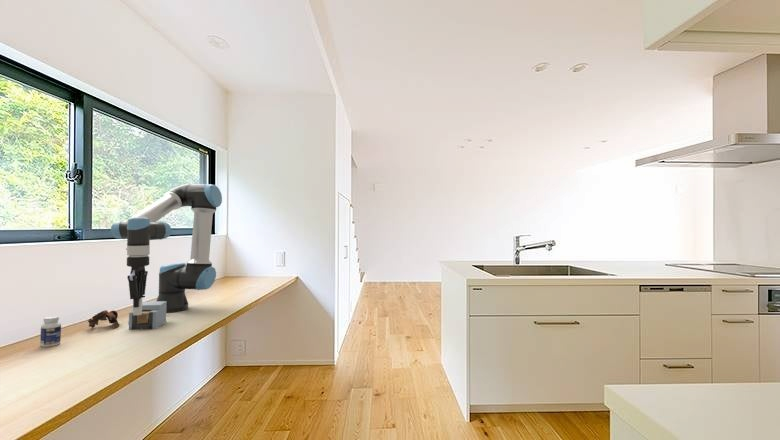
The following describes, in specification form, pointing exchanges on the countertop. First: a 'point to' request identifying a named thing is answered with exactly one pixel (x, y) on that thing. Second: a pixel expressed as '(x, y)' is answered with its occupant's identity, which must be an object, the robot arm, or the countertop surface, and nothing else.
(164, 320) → the sleeve block
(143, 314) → the peg
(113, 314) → the brown curved piece
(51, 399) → the countertop surface
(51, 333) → the pill bottle
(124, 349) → the countertop surface
